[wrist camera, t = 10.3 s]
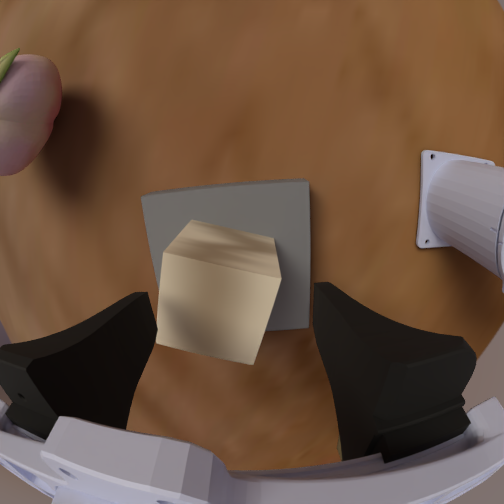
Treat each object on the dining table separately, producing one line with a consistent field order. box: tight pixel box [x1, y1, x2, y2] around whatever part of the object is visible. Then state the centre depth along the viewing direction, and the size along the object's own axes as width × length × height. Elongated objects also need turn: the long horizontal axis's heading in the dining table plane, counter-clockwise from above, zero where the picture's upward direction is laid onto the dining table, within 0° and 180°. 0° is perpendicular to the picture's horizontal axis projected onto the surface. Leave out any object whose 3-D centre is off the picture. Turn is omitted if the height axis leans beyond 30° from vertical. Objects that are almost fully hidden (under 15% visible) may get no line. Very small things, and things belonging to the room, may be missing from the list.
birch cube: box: [156, 220, 282, 365], centre depth 16 cm, size 6×6×6 cm
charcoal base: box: [141, 178, 310, 331], centre depth 20 cm, size 11×11×2 cm
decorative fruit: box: [0, 48, 62, 176], centre depth 12 cm, size 9×8×10 cm
